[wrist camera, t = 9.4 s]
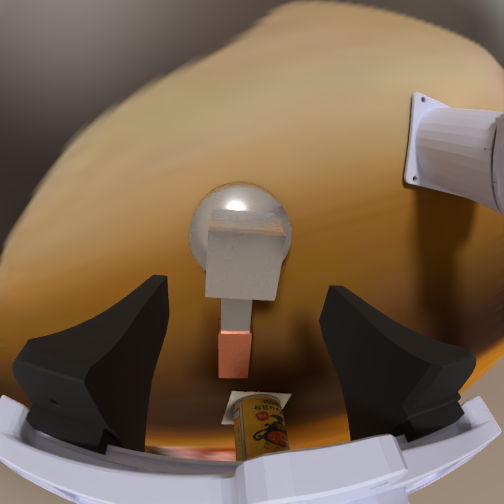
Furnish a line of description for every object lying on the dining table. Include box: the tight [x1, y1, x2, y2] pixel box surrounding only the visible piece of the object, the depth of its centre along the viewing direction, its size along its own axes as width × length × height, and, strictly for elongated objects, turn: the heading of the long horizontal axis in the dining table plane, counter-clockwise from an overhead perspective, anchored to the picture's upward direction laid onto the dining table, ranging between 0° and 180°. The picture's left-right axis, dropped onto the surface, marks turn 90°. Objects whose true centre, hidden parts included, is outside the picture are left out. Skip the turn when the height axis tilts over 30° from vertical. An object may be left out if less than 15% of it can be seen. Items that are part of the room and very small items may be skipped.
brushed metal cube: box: [205, 208, 286, 301], centre depth 16 cm, size 4×4×4 cm
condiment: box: [222, 391, 292, 461], centre depth 25 cm, size 7×8×12 cm
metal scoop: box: [189, 182, 292, 378], centre depth 21 cm, size 18×7×4 cm, turn 176°
